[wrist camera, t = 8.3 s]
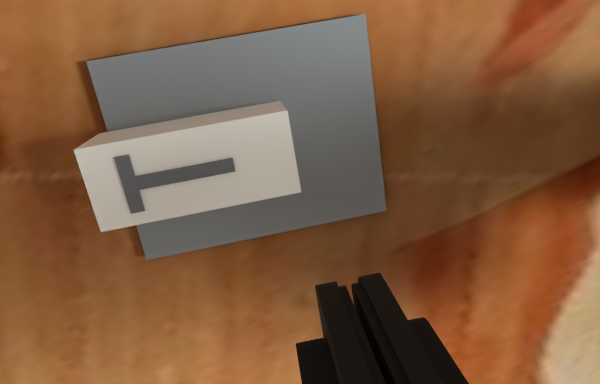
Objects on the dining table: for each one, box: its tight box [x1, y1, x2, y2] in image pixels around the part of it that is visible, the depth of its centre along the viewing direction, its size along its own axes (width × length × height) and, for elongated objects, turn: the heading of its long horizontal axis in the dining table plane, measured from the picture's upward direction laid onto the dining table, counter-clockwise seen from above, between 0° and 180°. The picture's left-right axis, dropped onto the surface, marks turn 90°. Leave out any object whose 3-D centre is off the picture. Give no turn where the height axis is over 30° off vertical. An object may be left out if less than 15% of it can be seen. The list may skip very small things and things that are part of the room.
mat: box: [86, 14, 387, 260], centre depth 32 cm, size 18×14×1 cm
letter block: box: [74, 101, 301, 232], centre depth 29 cm, size 5×5×12 cm
